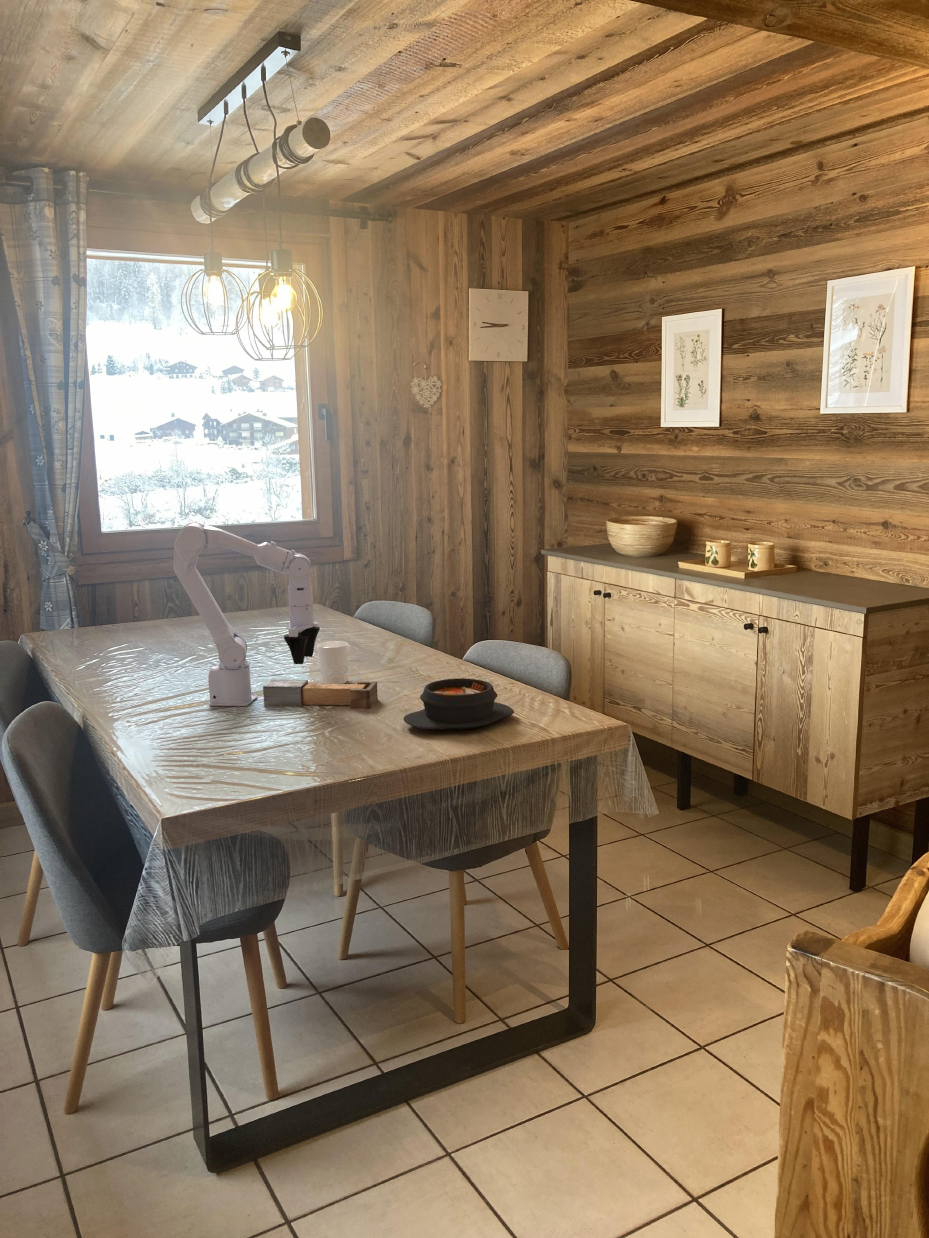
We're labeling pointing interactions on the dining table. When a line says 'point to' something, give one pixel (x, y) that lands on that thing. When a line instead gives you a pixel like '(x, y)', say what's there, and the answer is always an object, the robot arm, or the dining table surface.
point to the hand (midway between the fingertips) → (303, 660)
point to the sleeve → (283, 693)
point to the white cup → (333, 662)
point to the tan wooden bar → (328, 693)
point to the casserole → (458, 705)
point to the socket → (364, 695)
